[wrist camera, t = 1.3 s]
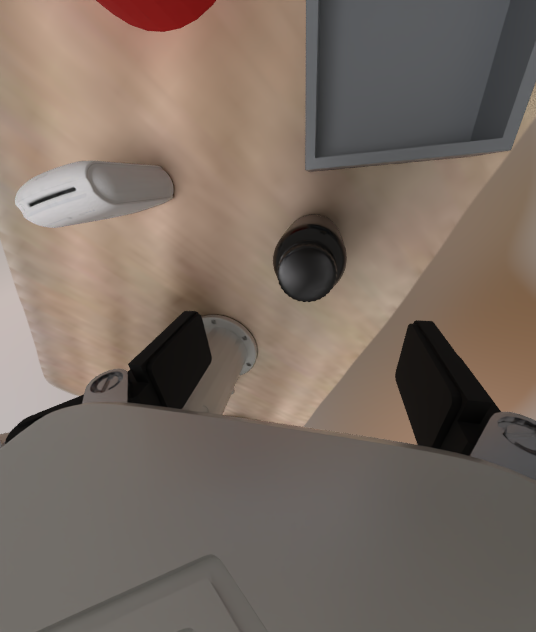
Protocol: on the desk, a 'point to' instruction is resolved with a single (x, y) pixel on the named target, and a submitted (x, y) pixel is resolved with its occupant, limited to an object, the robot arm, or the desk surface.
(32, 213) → the photo printer
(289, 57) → the desk surface
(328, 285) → the supplement bottle
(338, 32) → the box
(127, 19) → the toy clock
